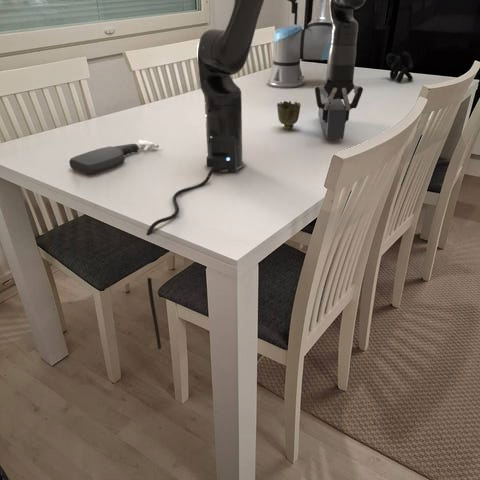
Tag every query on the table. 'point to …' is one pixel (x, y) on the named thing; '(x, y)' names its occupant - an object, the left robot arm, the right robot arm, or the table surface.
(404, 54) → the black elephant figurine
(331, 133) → the bar
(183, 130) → the table surface
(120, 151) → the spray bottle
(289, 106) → the cup
